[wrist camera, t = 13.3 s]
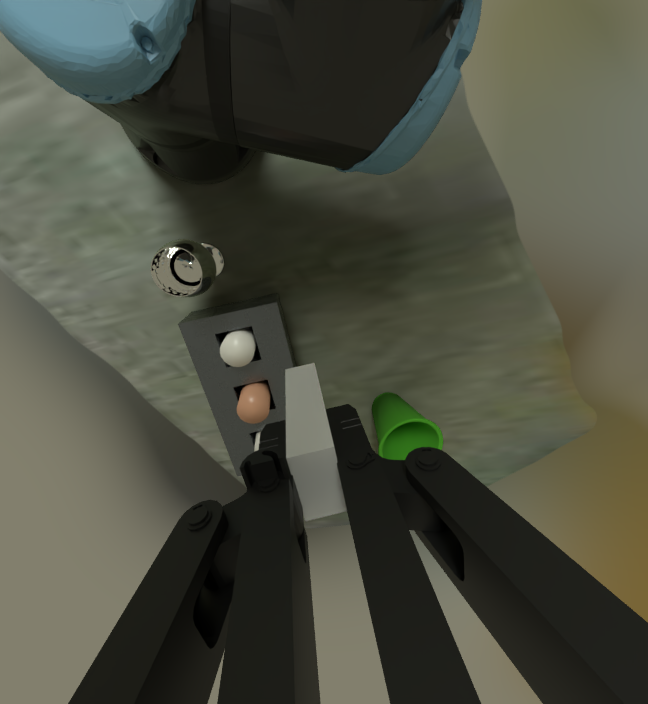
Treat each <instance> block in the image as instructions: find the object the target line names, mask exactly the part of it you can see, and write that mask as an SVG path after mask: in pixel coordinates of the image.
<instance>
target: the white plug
mask: <svg viewBox="0 0 648 704" xmlns="http://www.w3.org/2000/svg"><path fill="white" fill-rule="evenodd" d="M256 344H257V342H256V339H255V335H254V332H253V329H252V326H250V327H245V328H241V329H236V330H232V331H229V332H228V333H227V335H226V337H225V339H224V341H223V342H222V344H221V347H220V355H221V358H222V359H223V360H224V362H225V363H227V364H228V365H230V366H233V367H242V366H245V365H247V364H248V363H250V362H251V360H252V358H253V356H254V352H255V348H256Z"/></svg>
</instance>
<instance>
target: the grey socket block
mask: <svg viewBox="0 0 648 704" xmlns="http://www.w3.org/2000/svg"><path fill="white" fill-rule="evenodd" d="M178 325H179V327H180V330H181V333H182V335H183V338H184V340H185V343H186V345H187V348H188V351H189V353H190V356H191V358H192V361H193V363H194V366H195V368H196V371H197V374H198V376H199V379H200V381H201V384H202V386H203V389H204V392H205V394H206V397H207V399H208V402H209V404H210V407H211V410H212V412H213V415H214V417H215V420H216V422H217V425H218V428H219V430H220V433H221V435H222V438H223V440H224V443H225V445H226V448H227V451H228V453H229V456H230V458H231V461H232V463H233V466H234V469H235V471H236V474H237V476H241V475H242V474H241V471H240V466H241V463H242V461H243V460H244V459H245V458H246V457H247V456H248V455H250V454H251V453H253V452H254V448H255V440H256V433H257V431H261V430H263V428H264V427H265V425H266V424H269V423H273V422H278V421H282V420H286V394H285V369H290V368H294V367H296V364H295V360H294V356H293V352H292V348H291V344H290V340H289V336H288V332H287V328H286V324H285V320H284V316H283V312H282V308H281V304H280V300H279V296H278V293H276V294H272V295H267V296H263V297H258V298H254V299H249V300H244V301H240V302H235V303H231V304H226V305H221V306H217V307H212V308H208V309H203V310H198V311H194V312H191V313H190V314H189V315H188V316H187V317H185V318H184V319H183V320H182V321H181V322H180V323H179V324H178ZM250 326H252V329H253V332H254V335H255V339H256V342H257V345H258V346H256V348H255V352H254V356H253V358H252V360H251V362H250V363H248V364H247V365H245V366H242V367H233V366H230V365H228V364H227V363H225V362H224V360H223V359H222V358H221V355H220V347H221V344H222V342H223V341H224V339H225V337H226V335H227V331H232V330H236V329H241V328H245V327H250ZM267 379H268V383H269V386H270V389H271V395H270V407H269V414H268V416H267V418H266V419H265V420H263V421H262V422H260V423H255V424H251V423H247V422H244V421H243V420H241V419H240V417H239V416H238V414H237V405H238V401H239V398H240V394H241V390H242V387H243V385H245V384H250V383H254V382H258V381H263V380H267Z"/></svg>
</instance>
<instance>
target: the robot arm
mask: <svg viewBox="0 0 648 704" xmlns="http://www.w3.org/2000/svg"><path fill="white" fill-rule="evenodd" d="M481 5H482V0H0V31H1V32H2V33H3V34H4V36H5V37H6V38H7V39H8V40H9V41H10V42H11V43H12V44H13V45H14V46H15V47H16V48H17V49H18V50H19V51H20V52H21V53H22V54H23V55H24V56H25V57H27V58H28V59H29V60H30V61H31V62H32V63H34V64H35V65H36V66H37V67H38V68H39V69H40V70H41V71H42V72H43V73H44V74H45V75H46V76H47V77H48V78H50V79H51V80H53V81H54V82H55V83H56V84H57V85H58V86H60V87H63V88H64V89H65V90H66V91H67V92H68V93H70V94H73V95H76V96H79V97H80V98H82V99H83V100H85V101H86V102H88V103H90V104H91V105H93V106H94V107H96V108H97V109H99V110H100V111H102V112H103V113H105V114H107V115H108V116H110V117H111V118H113V119H114V120H116V121H117V122H119V123H120V124H121V125H122V127H123V129H124V131H125V133H126V134H127V136H128V137H129V139H130V140H131V142H132V143H133V144H134V146H135V147H136V148H137V149H138V150H139V151H140V153H141V154H142V155H143V156H144V157H145V158H146V159H148V160H149V161H150V162H151V163H152V164H154V165H155V166H156V167H158V168H159V169H161V170H162V171H164V172H166V173H168V174H170V175H172V176H174V177H176V178H178V179H181V180H183V181H187V182H191V183H196V184H212V183H217V182H221V181H224V180H226V179H228V178H230V177H232V176H234V175H235V174H237V173H238V172H239V171H240V170H242V169H243V168H244V167H245V165H246V164H247V163H248V162H249V160H250V159H251V157H252V156H253V154H254V152H255V150H258V151H263V152H267V153H272V154H276V155H281V156H286V157H290V158H295V159H299V160H304V161H308V162H313V163H318V164H322V165H327V166H331V167H335V169H337V170H338V171H341V172H353V171H357V172H364V173H370V174H376V175H382V174H387V173H391V172H393V171H396V170H397V169H399V168H401V167H402V166H403V165H405V164H406V163H407V162H408V161H409V160H410V159H411V158H412V157H413V156H414V155H415V154H416V153H417V152H418V151H419V150H420V148H421V147H422V146H423V144H424V143H425V142H426V140H427V139H428V138H429V136H430V135H431V133H432V132H433V130H434V129H435V127H436V125H437V124H438V122H439V120H440V119H441V117H442V115H443V114H444V112H445V110H446V108H447V106H448V104H449V102H450V100H451V98H452V96H453V94H454V92H455V90H456V88H457V86H458V83H459V81H460V78H461V73H460V67H461V66H462V64H463V62H464V61H465V59H466V58H467V57H468V55H469V54H470V52H471V50H472V46H473V43H474V40H475V37H476V33H477V29H478V25H479V20H480V14H481ZM285 394H286V420H282V421H278V422H273V423H269V424H266V425H265V427H264V428H263V430H262V431H261V433H260V440H259V442H260V443H259V450H257V451H255V452H253V453H251V454H250V455H248V456H247V457H246V458H245V459H244V460H243V461H242V463H241V466H240V471H241V474H242V476H243V479H244V481H245V484H246V487H247V492H246V493H245V494H244V495H242V496H241V497H239V498H238V499H236V500H234V501H232V502H230V503H228V504H226V505H225V506H223V507H222V505H221V504H220V503H219V502H217V501H213V500H207V501H203V502H200V503H198V504H196V505H194V506H192V507H191V508H190V509H189V510H187V511H186V512H185V513H184V514H183V516H182V517H181V518H180V519H179V521H178V522H177V524H176V526H175V527H174V529H173V531H172V533H171V534H170V536H169V537H168V539H167V541H166V542H165V544H164V546H163V547H162V549H161V551H160V552H159V554H158V556H157V557H156V559H155V561H154V562H153V564H152V565H151V568H150V569H149V570H148V572H147V574H146V575H145V577H144V579H143V580H142V582H141V584H140V585H139V587H138V589H137V590H136V592H135V594H134V595H133V597H132V599H131V600H130V602H129V604H128V605H127V607H126V609H125V610H124V612H123V614H122V615H121V617H120V619H119V620H118V622H117V624H116V625H115V627H114V629H113V630H112V632H111V633H110V635H109V637H108V639H107V640H106V642H105V643H104V645H103V647H102V649H101V650H100V652H99V653H98V655H97V657H96V658H95V660H94V662H93V663H92V665H91V667H90V669H89V670H88V672H87V673H86V675H85V677H84V679H83V680H82V682H81V683H80V685H79V687H78V688H77V690H76V692H75V693H74V695H73V697H72V698H71V700H70V702H69V703H68V704H207V703H208V700H209V697H210V693H211V690H212V687H213V684H214V681H215V678H216V674H217V671H218V668H219V665H220V662H221V658H222V656H223V653H224V660H223V667H222V674H221V681H220V688H219V696H218V702H217V704H320V693H319V680H318V669H317V655H316V643H315V630H314V617H313V606H312V593H311V580H310V567H309V555H308V542H307V535H306V532H305V528H304V522H303V515H304V519H305V521H309V520H313V519H317V518H321V517H325V516H329V515H333V514H337V513H341V512H345V511H347V512H348V517H349V521H350V526H351V530H352V534H353V539H354V543H355V548H356V552H357V557H358V561H359V566H360V570H361V575H362V579H363V583H364V588H365V592H366V597H367V601H368V606H369V610H370V615H371V619H372V624H373V628H374V633H375V637H376V642H377V646H378V650H379V655H380V659H381V664H382V668H383V673H384V677H385V682H386V686H387V691H388V695H389V700H390V704H481V702H480V700H479V698H478V695H477V693H476V690H475V688H474V686H473V683H472V681H471V678H470V676H469V673H468V671H467V669H466V666H465V664H464V661H463V659H462V657H461V654H460V652H459V650H458V647H457V645H456V642H455V640H454V638H453V635H452V633H451V630H450V628H449V626H448V623H447V621H446V618H445V616H444V613H443V611H442V609H441V606H440V604H439V602H438V599H437V597H436V594H435V592H434V589H433V587H432V585H431V582H430V580H429V577H428V575H427V573H426V570H425V568H424V566H423V563H422V561H421V558H420V556H419V553H418V551H417V549H416V546H415V544H414V541H413V539H412V537H411V534H410V532H409V530H415V532H416V534H417V535H418V537H419V538H420V540H421V541H422V542H423V543H424V545H425V546H426V548H427V549H428V550H429V551H430V553H431V554H432V555H433V557H434V558H435V559H436V561H437V562H438V564H439V565H440V566H441V568H442V569H443V570H444V572H445V573H446V574H447V576H448V577H449V578H450V580H451V581H452V582H453V584H454V585H455V586H456V588H457V589H458V590H459V592H460V593H461V594H462V596H463V597H464V598H465V600H466V601H467V602H468V604H469V605H470V606H471V608H472V609H473V610H474V612H475V613H476V614H477V616H478V617H479V619H480V620H481V621H482V623H483V624H484V625H485V627H486V628H487V629H488V631H489V632H490V633H491V635H492V636H493V637H494V639H495V640H496V641H497V642H498V644H499V645H500V647H501V648H502V649H503V651H504V652H505V653H506V655H507V656H508V657H509V659H510V660H511V661H512V663H513V664H514V665H515V667H516V668H517V669H518V671H519V672H520V673H521V675H522V676H523V677H524V679H525V680H526V682H527V683H528V684H529V686H530V687H531V688H532V690H533V691H534V692H535V693H536V695H537V696H538V698H539V699H540V700H541V702H542V703H543V704H648V623H647V622H646V621H645V620H644V619H643V618H641V617H640V616H639V615H638V614H637V613H636V612H634V611H633V610H632V609H631V608H629V607H628V606H627V605H626V604H625V603H624V602H622V601H621V600H620V599H619V598H618V597H616V596H615V595H614V594H613V593H612V592H611V591H609V590H608V589H607V588H606V587H605V586H603V585H602V584H601V583H600V582H599V581H597V580H596V579H595V578H594V577H593V576H592V575H590V574H589V573H588V572H587V571H586V570H584V569H583V568H582V567H581V566H580V565H579V564H577V563H576V562H575V561H574V560H572V559H571V558H570V557H569V556H568V555H567V554H565V553H564V552H563V551H562V550H561V549H560V548H558V547H557V546H556V545H555V544H554V543H552V542H551V541H550V540H549V539H548V538H546V537H545V536H544V535H543V534H542V533H541V532H539V531H538V530H537V529H536V528H535V527H533V526H532V525H531V524H530V523H529V522H527V521H526V520H525V519H524V518H523V517H521V516H520V515H519V514H518V513H517V512H516V511H514V510H513V509H512V508H511V507H510V506H508V505H507V504H506V503H505V502H504V501H502V500H501V499H500V498H499V497H498V496H497V495H495V494H494V493H493V492H492V491H490V490H489V489H488V488H487V487H486V486H485V485H483V484H482V483H481V482H480V481H479V480H478V479H476V478H475V477H474V476H473V475H472V474H470V473H469V472H468V471H467V470H466V469H464V468H463V467H462V466H461V465H460V464H459V463H457V462H456V461H455V460H454V459H453V458H451V457H450V456H449V455H448V454H447V453H445V452H443V451H442V450H440V449H437V448H433V447H420V448H416V449H414V450H412V451H411V452H409V453H408V455H407V457H406V458H405V460H391V459H386V458H382V457H381V456H379V455H377V454H376V453H375V452H374V451H373V450H372V448H371V446H370V443H369V441H368V438H367V436H366V433H365V431H364V428H363V426H362V424H361V421H360V418H359V416H358V414H357V411H356V409H355V408H353V407H352V406H350V405H349V404H346V405H342V406H338V407H334V408H329V409H325V405H324V401H323V397H322V393H321V388H320V384H319V380H318V376H317V371H316V367H315V363H311V364H307V365H303V366H298V367H294V368H290V369H285ZM224 649H225V652H224Z"/></svg>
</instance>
